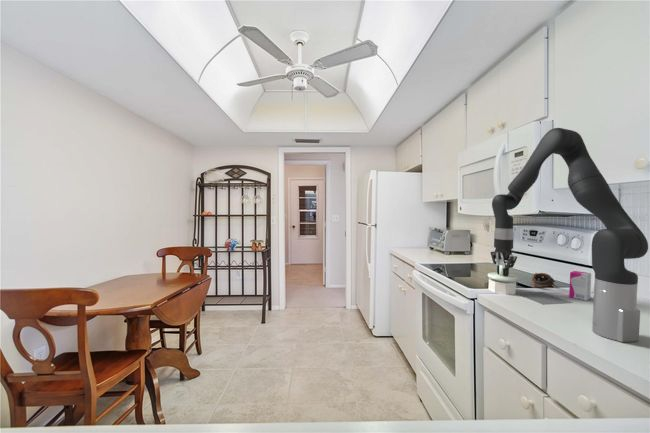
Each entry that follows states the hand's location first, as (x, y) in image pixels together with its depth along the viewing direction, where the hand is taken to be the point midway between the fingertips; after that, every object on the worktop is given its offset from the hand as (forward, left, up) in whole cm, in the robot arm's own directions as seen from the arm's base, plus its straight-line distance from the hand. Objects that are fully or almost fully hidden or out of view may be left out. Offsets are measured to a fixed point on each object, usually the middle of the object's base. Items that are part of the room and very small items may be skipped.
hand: (502, 275), depth 129 cm
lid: (0, 0, -1) cm, 1 cm away
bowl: (0, 0, -8) cm, 8 cm away
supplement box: (-13, -26, -8) cm, 30 cm away
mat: (-11, -10, -8) cm, 17 cm away
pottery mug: (+3, -25, -8) cm, 26 cm away
